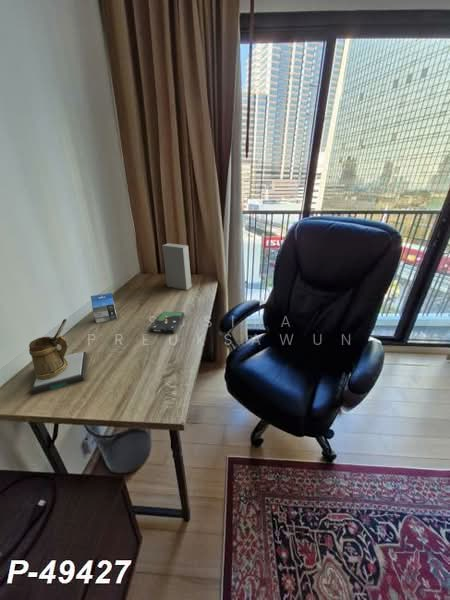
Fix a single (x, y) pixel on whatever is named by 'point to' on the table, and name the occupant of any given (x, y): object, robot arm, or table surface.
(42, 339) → the wooden mug
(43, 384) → the scale
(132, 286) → the table surface
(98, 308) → the tape cartridge
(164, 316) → the disk drive
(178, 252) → the upright grey slab
